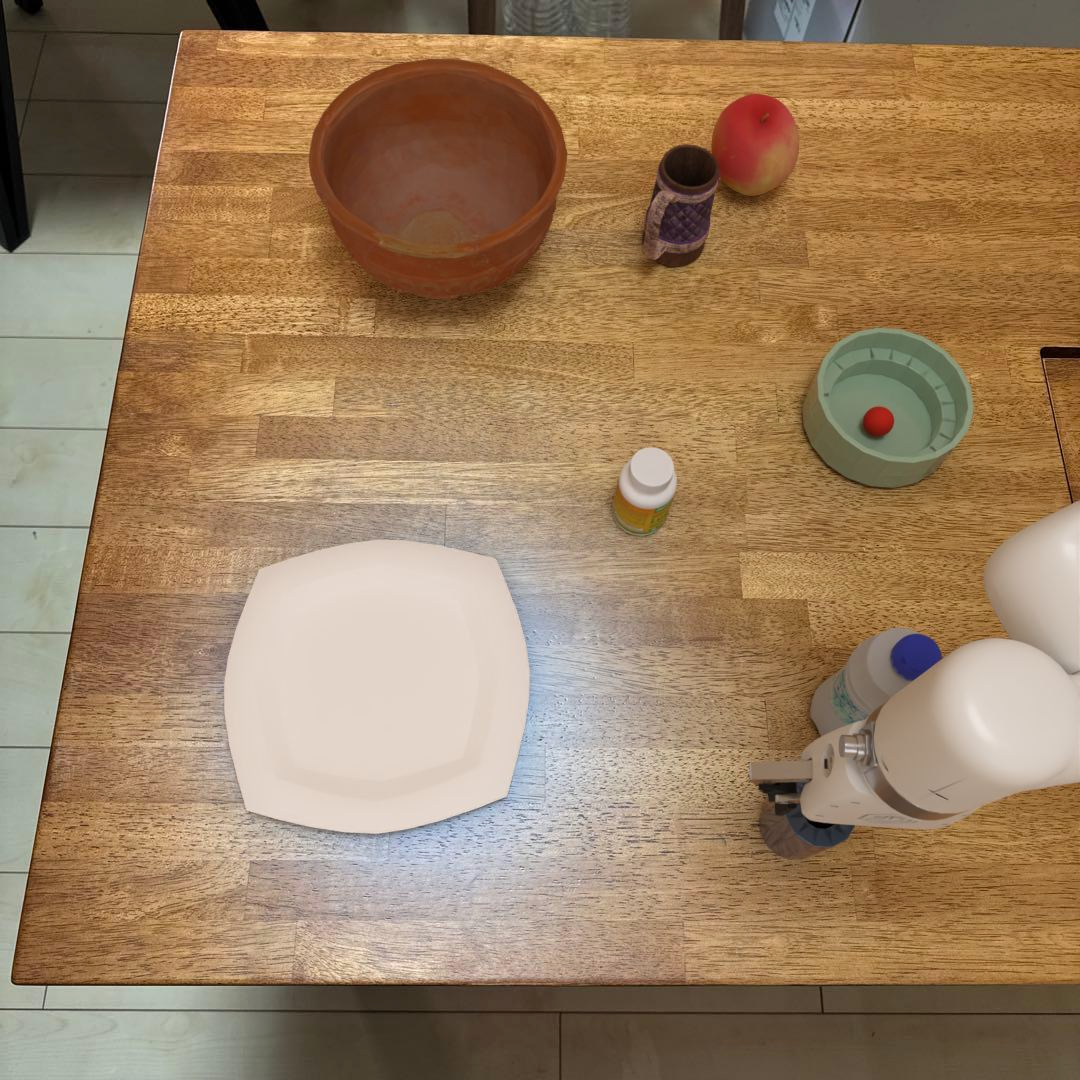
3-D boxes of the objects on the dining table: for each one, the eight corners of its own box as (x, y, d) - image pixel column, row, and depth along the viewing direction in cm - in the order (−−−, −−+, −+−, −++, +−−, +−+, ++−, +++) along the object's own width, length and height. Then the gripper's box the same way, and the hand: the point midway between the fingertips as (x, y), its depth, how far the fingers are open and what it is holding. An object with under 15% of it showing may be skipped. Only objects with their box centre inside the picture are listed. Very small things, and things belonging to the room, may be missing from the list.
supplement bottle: (650, 546, 98) (665, 503, 89) (602, 521, 99) (611, 475, 90) (675, 503, 100) (692, 457, 91) (627, 478, 101) (639, 430, 92)
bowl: (311, 331, 107) (283, 235, 93) (356, 151, 117) (336, 40, 103) (545, 359, 107) (551, 267, 93) (570, 175, 116) (579, 68, 103)
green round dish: (941, 366, 108) (965, 333, 102) (955, 495, 102) (981, 467, 96) (798, 356, 108) (814, 322, 102) (804, 484, 102) (821, 455, 96)
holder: (821, 795, 89) (854, 776, 81) (824, 861, 87) (858, 849, 79) (758, 791, 89) (784, 771, 81) (759, 857, 87) (786, 844, 79)
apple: (696, 204, 115) (713, 137, 106) (709, 142, 119) (726, 72, 110) (780, 221, 115) (804, 155, 106) (790, 158, 119) (814, 89, 109)
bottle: (891, 716, 92) (987, 651, 74) (846, 769, 90) (933, 715, 72) (833, 665, 94) (912, 589, 76) (787, 716, 92) (858, 650, 74)
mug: (663, 207, 115) (680, 125, 104) (716, 238, 114) (739, 159, 103) (612, 265, 112) (623, 187, 101) (665, 298, 110) (683, 222, 99)
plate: (237, 552, 97) (232, 544, 95) (521, 541, 98) (522, 532, 96) (219, 845, 86) (213, 842, 84) (537, 827, 88) (538, 824, 86)
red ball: (896, 419, 104) (885, 396, 102) (900, 434, 101) (889, 411, 100) (868, 431, 105) (856, 408, 104) (871, 446, 103) (859, 423, 101)
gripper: (782, 808, 59) (728, 842, 75) (1082, 828, 59) (964, 859, 75) (778, 682, 62) (727, 741, 78) (1064, 701, 62) (954, 756, 77)
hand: (843, 798), depth 76 cm, fingers open, 9 cm apart
